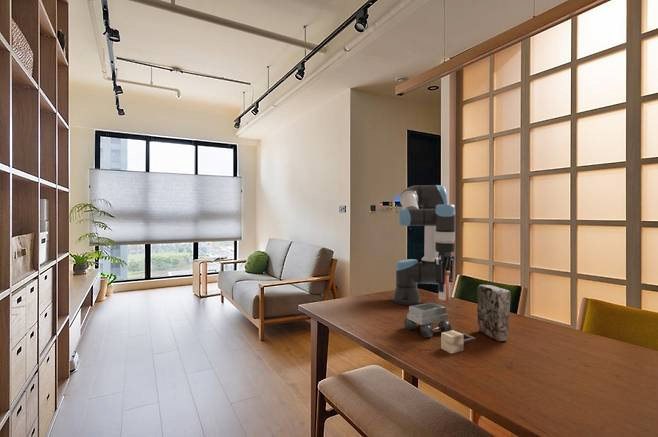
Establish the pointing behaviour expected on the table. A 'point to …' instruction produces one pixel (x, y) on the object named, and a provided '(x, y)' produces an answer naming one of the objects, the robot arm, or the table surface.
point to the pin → (446, 287)
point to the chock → (452, 341)
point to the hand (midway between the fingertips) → (444, 298)
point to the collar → (468, 338)
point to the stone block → (493, 311)
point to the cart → (427, 318)
